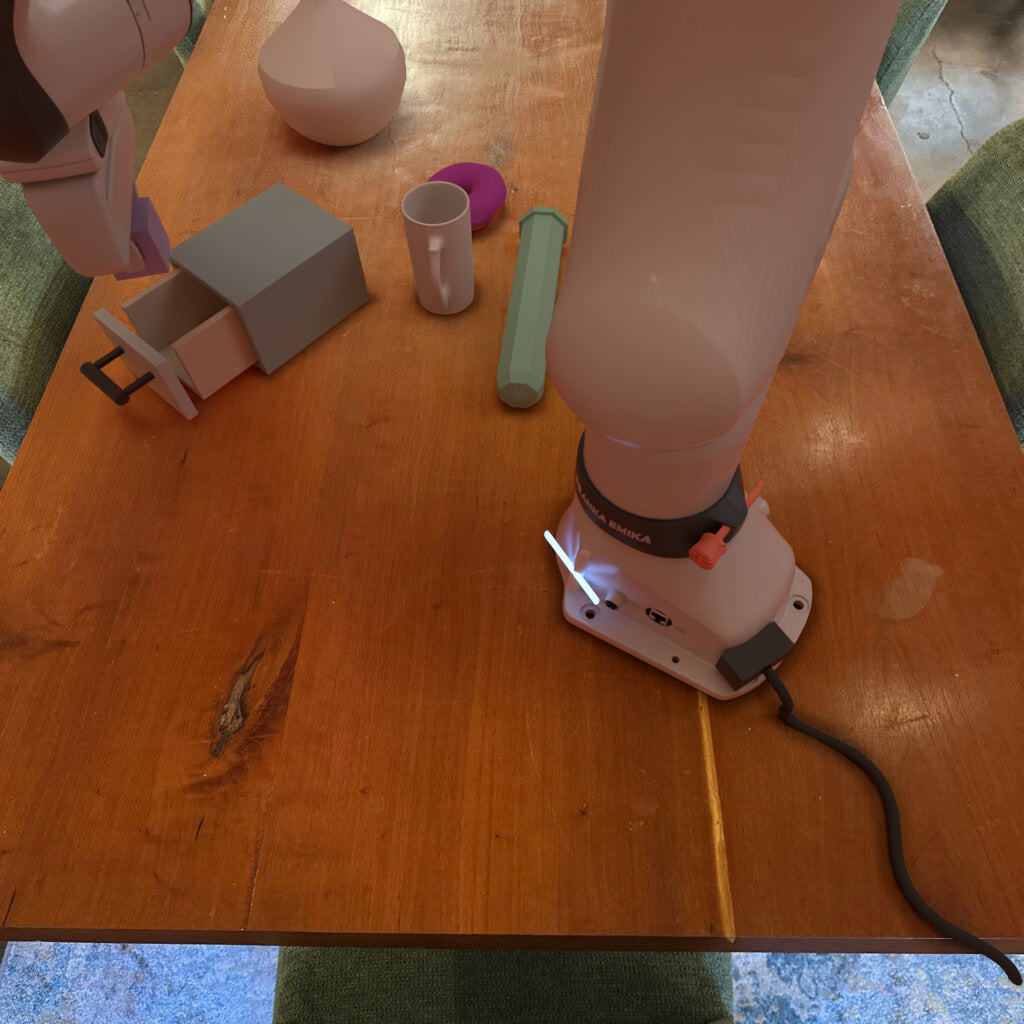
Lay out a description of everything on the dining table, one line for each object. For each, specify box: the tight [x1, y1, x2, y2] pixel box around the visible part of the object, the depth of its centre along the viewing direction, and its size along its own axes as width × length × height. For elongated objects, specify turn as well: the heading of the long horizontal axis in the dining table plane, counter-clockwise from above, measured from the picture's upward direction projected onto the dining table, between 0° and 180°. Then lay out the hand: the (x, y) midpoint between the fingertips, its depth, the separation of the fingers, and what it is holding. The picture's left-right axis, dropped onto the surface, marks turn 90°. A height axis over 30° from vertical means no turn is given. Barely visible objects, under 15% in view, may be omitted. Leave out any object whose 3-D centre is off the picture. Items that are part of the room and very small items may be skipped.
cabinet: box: [170, 181, 370, 376], centre depth 80 cm, size 15×12×10 cm
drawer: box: [79, 267, 258, 421], centre depth 76 cm, size 18×10×8 cm, turn 139°
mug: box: [400, 181, 475, 316], centre depth 79 cm, size 10×7×12 cm, turn 179°
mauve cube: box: [112, 196, 171, 282], centre depth 66 cm, size 4×4×4 cm
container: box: [495, 205, 569, 409], centre depth 80 cm, size 6×6×25 cm
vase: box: [257, 0, 407, 147], centre depth 94 cm, size 18×18×19 cm
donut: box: [426, 161, 508, 233], centre depth 90 cm, size 10×10×5 cm
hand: (137, 244), depth 66 cm, fingers closed on mauve cube, 4 cm apart
